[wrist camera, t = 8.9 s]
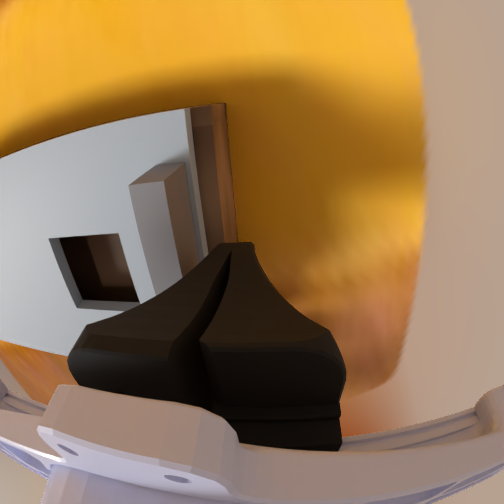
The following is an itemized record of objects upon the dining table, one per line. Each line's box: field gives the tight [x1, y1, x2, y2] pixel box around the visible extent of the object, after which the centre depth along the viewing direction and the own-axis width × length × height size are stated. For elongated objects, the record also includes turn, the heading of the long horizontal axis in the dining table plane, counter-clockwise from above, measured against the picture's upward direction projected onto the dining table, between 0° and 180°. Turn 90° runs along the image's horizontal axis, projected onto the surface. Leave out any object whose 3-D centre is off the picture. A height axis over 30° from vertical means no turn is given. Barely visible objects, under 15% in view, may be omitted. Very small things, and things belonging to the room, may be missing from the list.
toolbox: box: [1, 103, 238, 302], centre depth 17 cm, size 14×22×4 cm, turn 94°
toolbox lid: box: [0, 108, 208, 356], centre depth 13 cm, size 14×22×3 cm, turn 94°
